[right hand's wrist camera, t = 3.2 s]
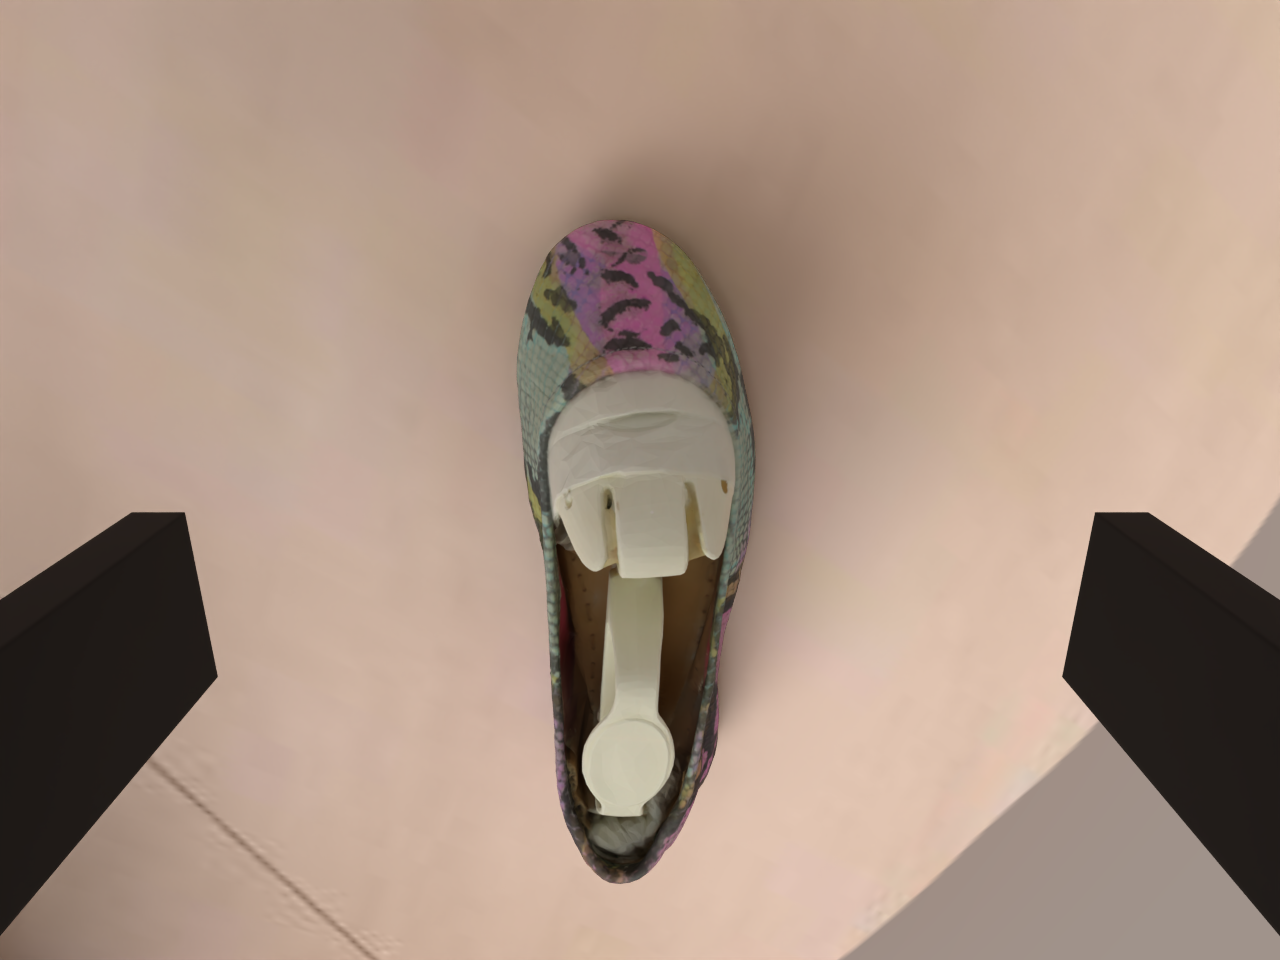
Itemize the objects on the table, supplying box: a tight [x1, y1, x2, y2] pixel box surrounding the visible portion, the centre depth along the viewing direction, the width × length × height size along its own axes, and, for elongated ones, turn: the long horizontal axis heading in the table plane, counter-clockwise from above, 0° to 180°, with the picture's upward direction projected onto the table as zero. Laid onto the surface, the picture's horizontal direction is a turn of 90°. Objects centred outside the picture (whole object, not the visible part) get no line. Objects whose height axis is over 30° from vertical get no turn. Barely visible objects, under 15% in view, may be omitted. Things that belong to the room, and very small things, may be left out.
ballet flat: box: [517, 220, 755, 884], centre depth 29 cm, size 8×24×9 cm, turn 0°
